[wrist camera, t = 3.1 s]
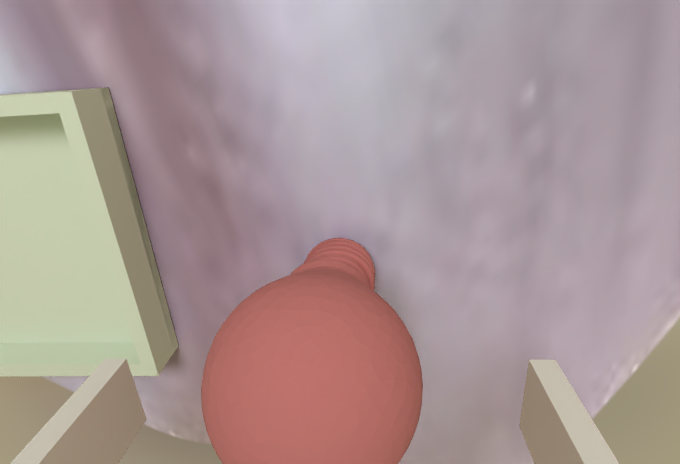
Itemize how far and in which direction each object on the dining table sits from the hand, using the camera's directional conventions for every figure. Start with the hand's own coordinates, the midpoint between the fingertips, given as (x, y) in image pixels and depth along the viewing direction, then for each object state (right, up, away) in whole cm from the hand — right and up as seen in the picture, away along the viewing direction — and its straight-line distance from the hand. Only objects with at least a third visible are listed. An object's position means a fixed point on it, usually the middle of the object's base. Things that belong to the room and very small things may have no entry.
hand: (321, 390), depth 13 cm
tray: (-17, +5, +8) cm, 19 cm away
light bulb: (0, +4, +8) cm, 9 cm away
